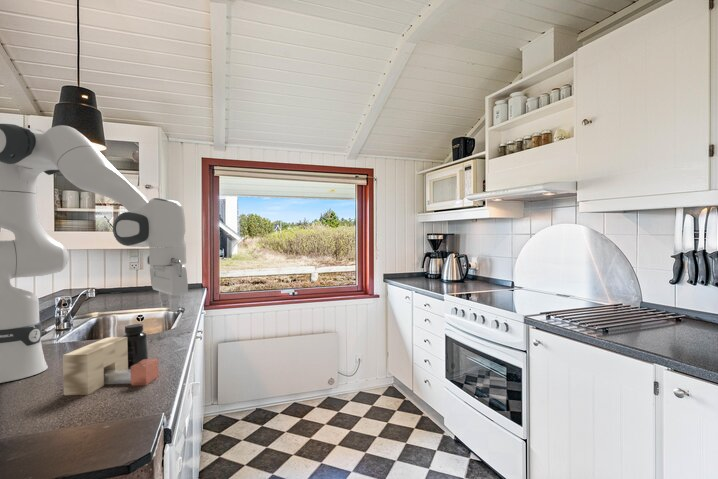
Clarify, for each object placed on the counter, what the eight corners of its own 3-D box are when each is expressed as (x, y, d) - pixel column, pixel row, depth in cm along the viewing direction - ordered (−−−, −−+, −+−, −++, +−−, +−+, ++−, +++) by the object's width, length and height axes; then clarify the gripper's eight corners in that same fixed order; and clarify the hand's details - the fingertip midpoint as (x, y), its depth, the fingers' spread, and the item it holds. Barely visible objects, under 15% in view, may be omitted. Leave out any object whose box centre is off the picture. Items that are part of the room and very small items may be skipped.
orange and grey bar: (158, 376, 101) (158, 358, 101) (146, 385, 95) (145, 366, 95) (108, 378, 101) (107, 360, 101) (92, 386, 95) (92, 367, 95)
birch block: (63, 395, 90) (62, 355, 90) (107, 371, 106) (106, 337, 106) (88, 394, 90) (87, 354, 90) (128, 371, 106) (127, 336, 106)
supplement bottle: (131, 360, 116) (130, 323, 116) (152, 360, 115) (151, 322, 115) (116, 368, 109) (115, 328, 109) (139, 368, 109) (138, 328, 108)
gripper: (193, 258, 93) (195, 312, 93) (169, 256, 108) (170, 303, 108) (166, 259, 89) (168, 316, 89) (145, 257, 103) (146, 306, 103)
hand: (169, 309), depth 98 cm, fingers open, 6 cm apart
